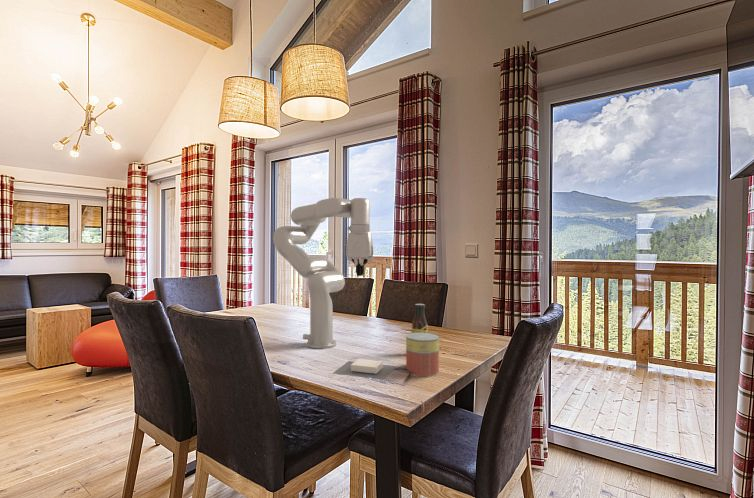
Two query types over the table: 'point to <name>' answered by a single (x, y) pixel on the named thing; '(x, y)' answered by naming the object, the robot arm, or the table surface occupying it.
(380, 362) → the tile
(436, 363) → the canned food
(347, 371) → the slate board
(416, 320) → the sauce bottle
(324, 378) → the table surface
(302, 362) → the table surface
